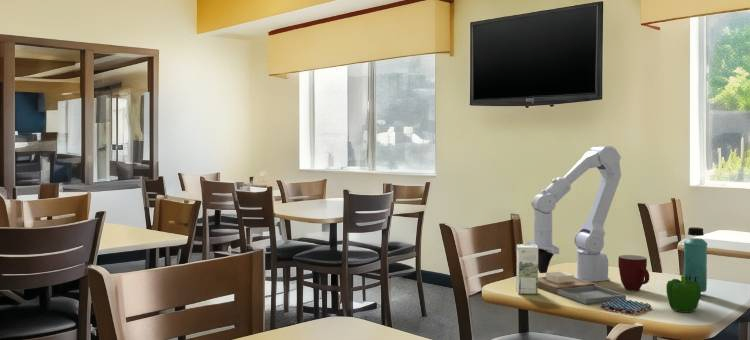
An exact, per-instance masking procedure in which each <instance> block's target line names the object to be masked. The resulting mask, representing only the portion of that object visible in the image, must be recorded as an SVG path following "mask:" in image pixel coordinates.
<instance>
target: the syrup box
mask: <svg viewBox="0 0 750 340" xmlns="http://www.w3.org/2000/svg"><path fill="white" fill-rule="evenodd" d="M515 273H516V274H515V275H516V276H515V277H516V282H515V283H516V284H515V285H516V286H515V287H516V289H515V290H516V292H517V293H518V295H533V296H534V295H538V293H539V291H538V289H539V288H538V278H539V270H538V247H537V245H536V244H528V243H527V244H525V243H517V244H516V272H515Z"/></svg>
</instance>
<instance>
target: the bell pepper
mask: <svg viewBox="0 0 750 340" xmlns="http://www.w3.org/2000/svg"><path fill="white" fill-rule="evenodd" d="M680 279H681V280H680ZM680 279H678V278H673V279H671V280H668V281H667V283H666V296H667V301H668V305H669V307H670V309H671V310H674V311H677V312H681V313H691V312H693V311H695V310H696V309H697V308H698V305H699V303H700V302H699V301H700V297H701V296H702V295H701V294H702V292H701V286H700V284H699V283H698V282H693V281H691V280H686V281H685V275H684V274H681V275H680Z"/></svg>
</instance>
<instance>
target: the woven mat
mask: <svg viewBox="0 0 750 340" xmlns="http://www.w3.org/2000/svg"><path fill="white" fill-rule="evenodd" d="M599 309H600V310H604V309H605V310H604V311H610V312H613V311H614V310H615V311H614V313H618V312H620V313H619V314H623V313H625V314H624V315H628V314H629V316H633V315H634V314H636V315H641V314H642V313H645V312H647V311H652V309H653V308H652V305H651V304H650V303H648V302H645V303H644V302H642V301H640V302H638V301H637V300H632V299H629V300H628V299H627V298H626V299H621V298H618V299H615V300H612V301H608V302H604V303H600V308H599Z"/></svg>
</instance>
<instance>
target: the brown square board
mask: <svg viewBox="0 0 750 340" xmlns="http://www.w3.org/2000/svg"><path fill="white" fill-rule="evenodd" d="M595 285H596V283H594V282H588V281H585V280H582V279H578V278H575V277H574V281H573V282H563V283H556V282H553V281H550V280H547V279H546V276H542V277H539V276H538V289H541V290H543V291H546V292H549V293H552V294H555V295H557V289H567V288H576V287H586V286H595Z"/></svg>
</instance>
